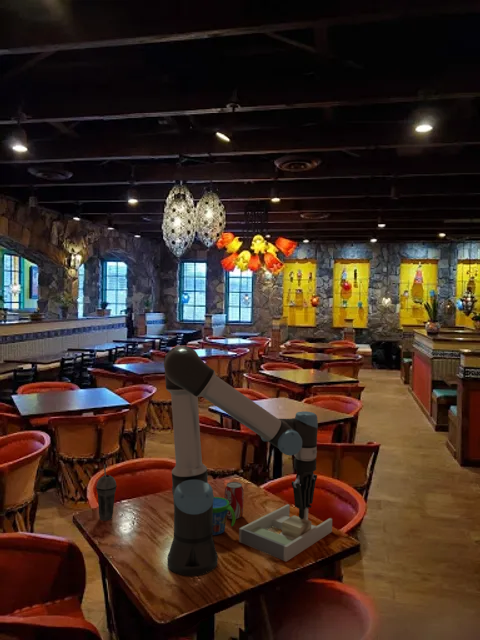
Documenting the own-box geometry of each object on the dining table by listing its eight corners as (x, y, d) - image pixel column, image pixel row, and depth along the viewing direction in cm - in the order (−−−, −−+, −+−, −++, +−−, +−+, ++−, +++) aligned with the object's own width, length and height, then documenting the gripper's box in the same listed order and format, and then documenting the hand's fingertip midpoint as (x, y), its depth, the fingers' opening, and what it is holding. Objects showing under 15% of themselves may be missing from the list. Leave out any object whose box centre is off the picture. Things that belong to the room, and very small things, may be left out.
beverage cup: (120, 516, 181) (121, 462, 181) (106, 524, 175) (107, 468, 174) (105, 512, 184) (106, 459, 184) (91, 519, 178) (92, 464, 178)
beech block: (299, 540, 160) (300, 528, 160) (282, 533, 165) (282, 521, 164) (311, 532, 165) (311, 521, 165) (293, 526, 170) (294, 515, 170)
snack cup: (186, 531, 170) (186, 502, 170) (204, 520, 179) (204, 492, 179) (224, 543, 162) (224, 512, 162) (240, 531, 171) (241, 502, 171)
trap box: (286, 561, 151) (286, 547, 151) (238, 541, 163) (239, 528, 163) (331, 531, 173) (332, 518, 172) (287, 516, 185) (287, 504, 185)
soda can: (242, 520, 180) (243, 488, 180) (223, 520, 180) (224, 487, 180) (243, 512, 187) (243, 481, 187) (224, 512, 187) (225, 481, 187)
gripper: (304, 464, 160) (302, 536, 161) (324, 456, 170) (322, 523, 171) (285, 459, 165) (283, 529, 166) (306, 451, 175) (304, 517, 176)
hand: (303, 526), depth 168 cm, fingers closed
